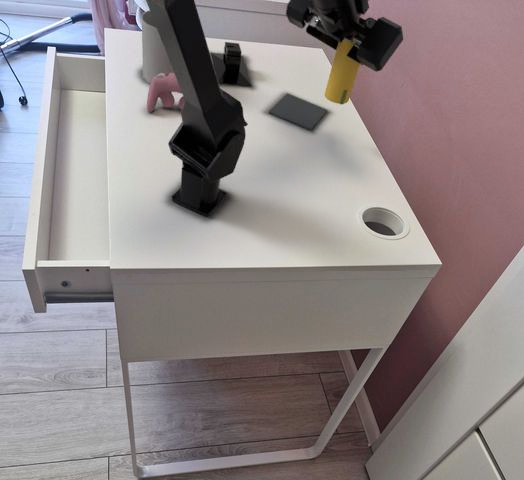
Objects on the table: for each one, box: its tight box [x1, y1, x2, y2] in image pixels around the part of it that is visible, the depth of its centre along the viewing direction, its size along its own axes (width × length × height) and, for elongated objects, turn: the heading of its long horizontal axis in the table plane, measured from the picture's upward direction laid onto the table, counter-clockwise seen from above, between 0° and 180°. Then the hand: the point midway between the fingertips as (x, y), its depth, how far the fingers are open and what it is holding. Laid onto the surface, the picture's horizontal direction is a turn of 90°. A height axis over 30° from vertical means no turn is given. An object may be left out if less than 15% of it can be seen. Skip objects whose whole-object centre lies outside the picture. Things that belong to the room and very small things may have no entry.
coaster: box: [268, 92, 328, 132], centre depth 97 cm, size 9×9×1 cm
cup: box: [141, 10, 174, 84], centre depth 93 cm, size 8×8×10 cm
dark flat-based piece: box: [210, 41, 253, 88], centre depth 101 cm, size 12×7×5 cm, turn 10°
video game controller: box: [146, 73, 185, 113], centre depth 89 cm, size 10×5×7 cm, turn 84°
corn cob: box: [324, 26, 364, 105], centre depth 83 cm, size 5×4×12 cm
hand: (352, 56), depth 83 cm, fingers closed on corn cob, 4 cm apart
